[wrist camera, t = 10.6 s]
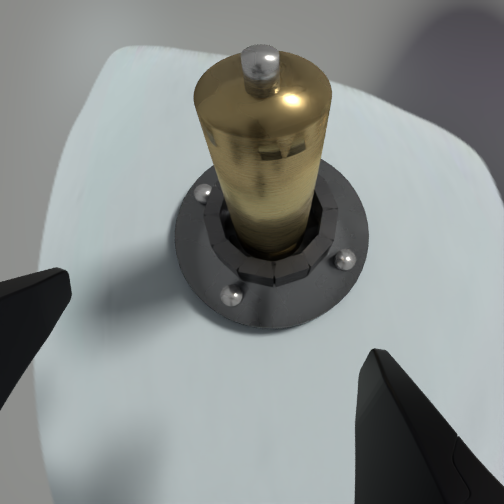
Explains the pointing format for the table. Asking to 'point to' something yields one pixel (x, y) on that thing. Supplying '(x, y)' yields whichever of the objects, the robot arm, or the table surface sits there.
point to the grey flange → (273, 272)
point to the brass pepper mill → (265, 143)
